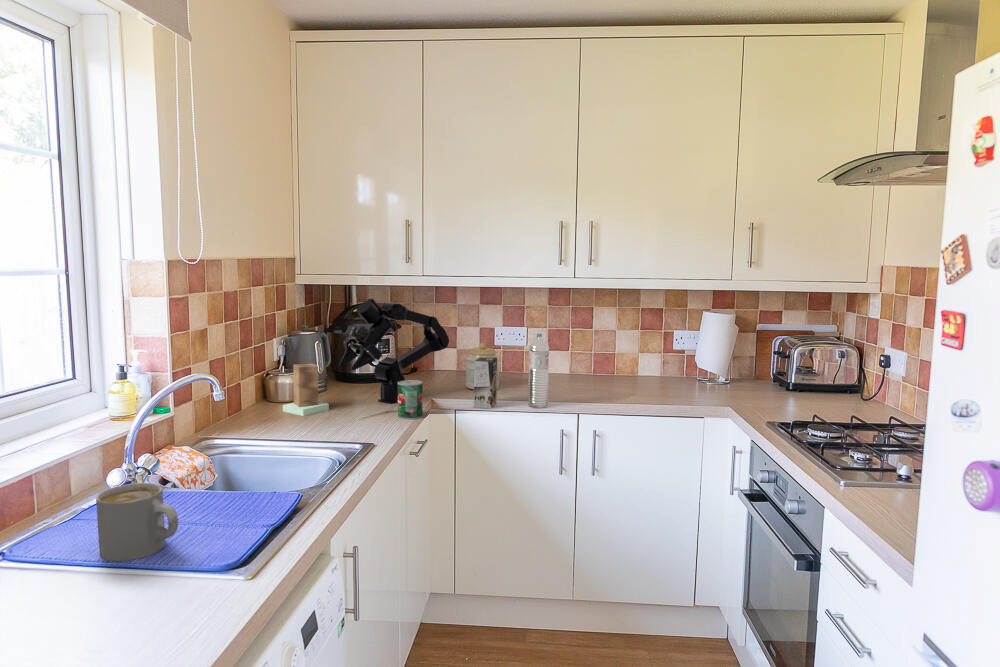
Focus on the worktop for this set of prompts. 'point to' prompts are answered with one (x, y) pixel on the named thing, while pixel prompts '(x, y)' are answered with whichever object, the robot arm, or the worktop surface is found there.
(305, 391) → the walnut post
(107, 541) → the coffee mug
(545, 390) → the water bottle
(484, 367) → the coffee box
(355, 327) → the robot arm
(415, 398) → the canned tomato
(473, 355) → the jar
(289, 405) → the sage top slab
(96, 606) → the worktop surface
